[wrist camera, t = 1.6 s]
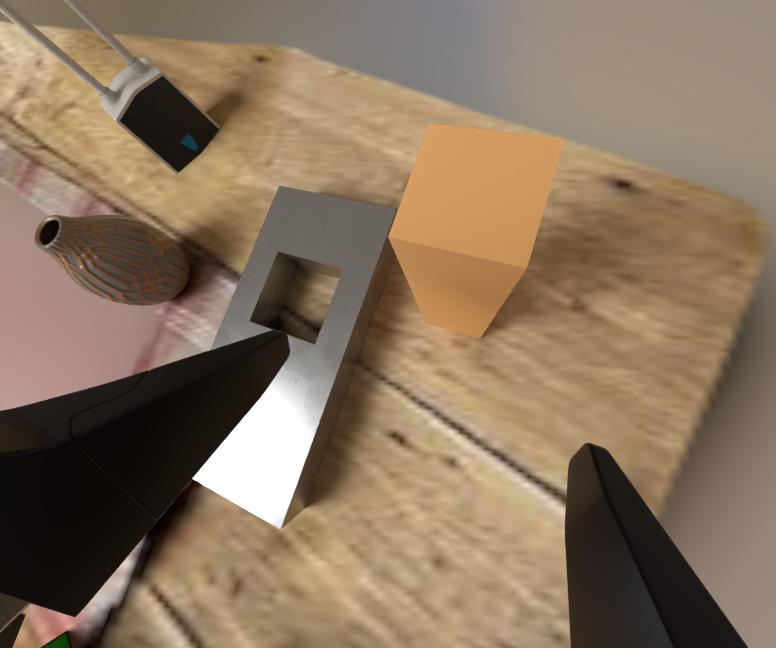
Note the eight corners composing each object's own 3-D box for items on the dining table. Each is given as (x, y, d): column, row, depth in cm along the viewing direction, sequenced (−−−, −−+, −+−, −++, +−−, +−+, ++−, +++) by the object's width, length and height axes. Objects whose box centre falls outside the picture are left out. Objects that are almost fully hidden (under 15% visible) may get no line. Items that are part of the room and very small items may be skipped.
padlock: (202, 111, 31) (-16, -127, 16) (223, 129, 30) (6, -110, 15) (160, 156, 31) (-95, -41, 16) (178, 176, 30) (-79, -18, 15)
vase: (194, 314, 26) (70, 281, 17) (135, 312, 27) (-6, 280, 19) (209, 243, 27) (100, 180, 19) (152, 244, 29) (27, 187, 20)
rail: (304, 508, 20) (280, 529, 17) (199, 451, 23) (163, 461, 20) (403, 230, 23) (396, 208, 20) (298, 207, 26) (279, 185, 23)
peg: (479, 338, 20) (526, 268, 8) (425, 322, 21) (388, 236, 9) (495, 285, 20) (565, 138, 8) (441, 272, 22) (429, 123, 9)
